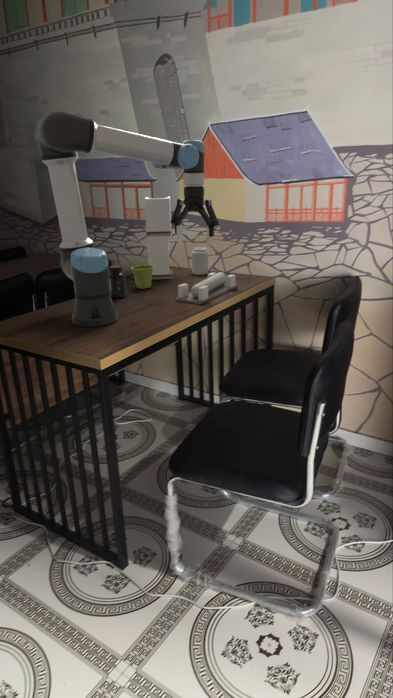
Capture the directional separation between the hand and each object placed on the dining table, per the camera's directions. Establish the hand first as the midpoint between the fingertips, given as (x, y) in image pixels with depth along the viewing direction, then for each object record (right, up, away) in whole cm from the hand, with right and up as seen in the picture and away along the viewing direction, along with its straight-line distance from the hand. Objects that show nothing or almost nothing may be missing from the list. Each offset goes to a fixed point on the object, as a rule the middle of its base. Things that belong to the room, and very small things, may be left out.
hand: (194, 244), depth 190 cm
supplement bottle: (-31, -20, +7) cm, 37 cm away
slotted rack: (+5, -18, +8) cm, 21 cm away
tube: (+6, -17, +8) cm, 20 cm away
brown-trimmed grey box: (-15, -7, +40) cm, 43 cm away
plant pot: (-22, -14, +21) cm, 33 cm away
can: (+3, -5, +43) cm, 43 cm away
